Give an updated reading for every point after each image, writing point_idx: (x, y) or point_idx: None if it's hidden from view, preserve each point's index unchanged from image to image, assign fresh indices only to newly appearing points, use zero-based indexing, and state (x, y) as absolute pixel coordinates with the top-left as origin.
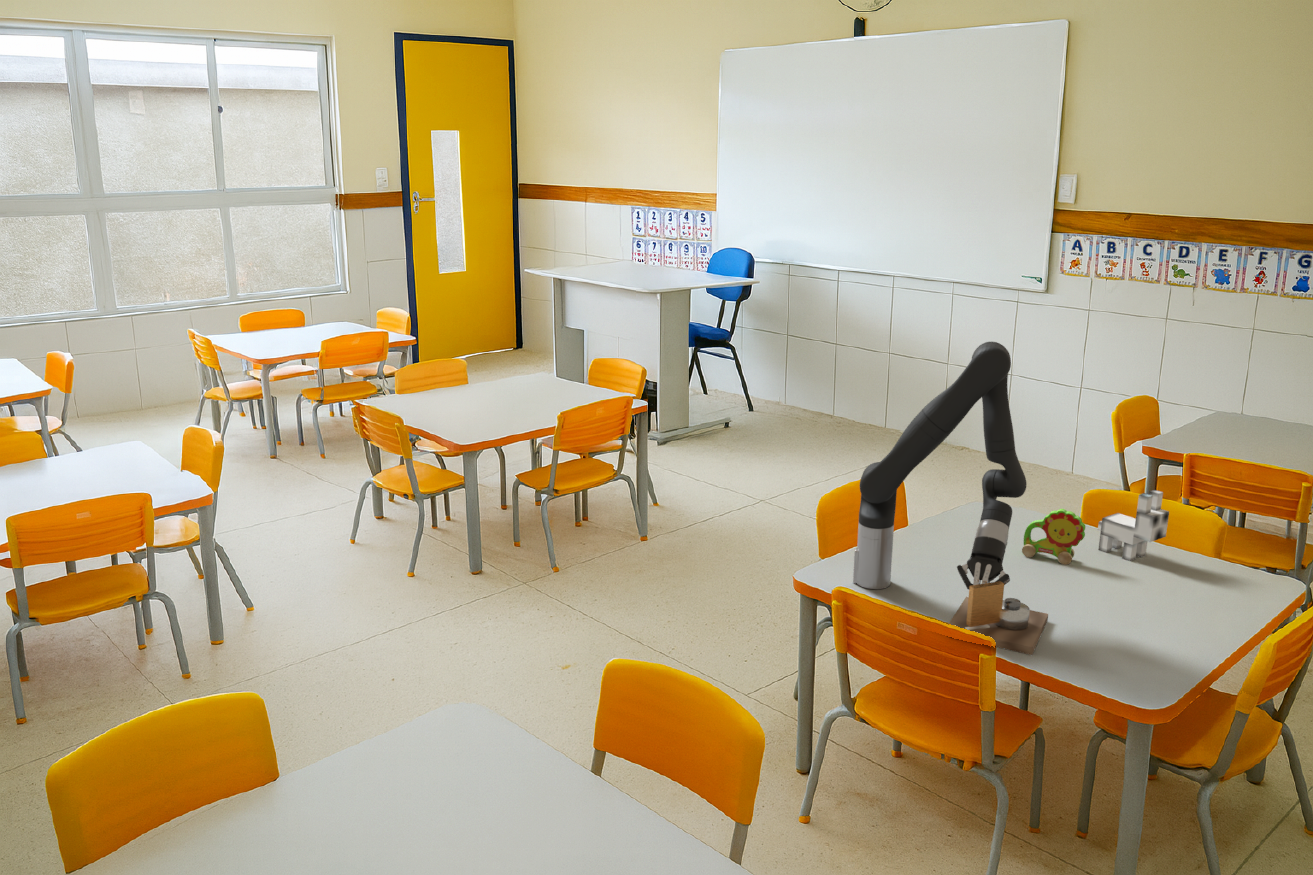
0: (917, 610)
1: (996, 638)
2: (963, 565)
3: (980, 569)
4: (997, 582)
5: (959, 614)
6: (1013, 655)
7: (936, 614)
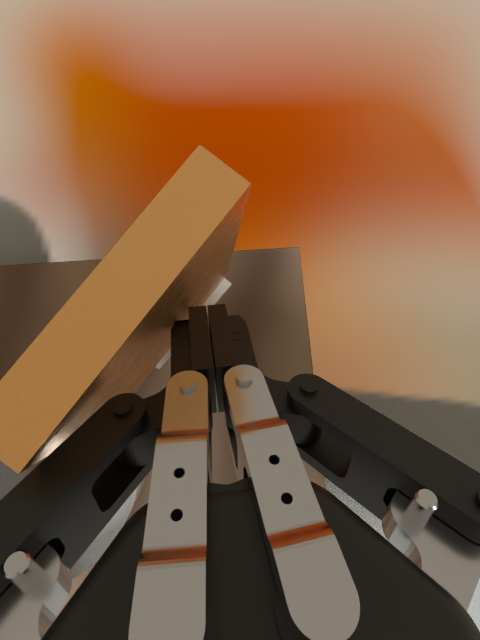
0: (458, 405)
1: (85, 268)
2: (474, 569)
3: (269, 555)
4: (35, 418)
5: None
6: (13, 238)
7: (386, 415)
